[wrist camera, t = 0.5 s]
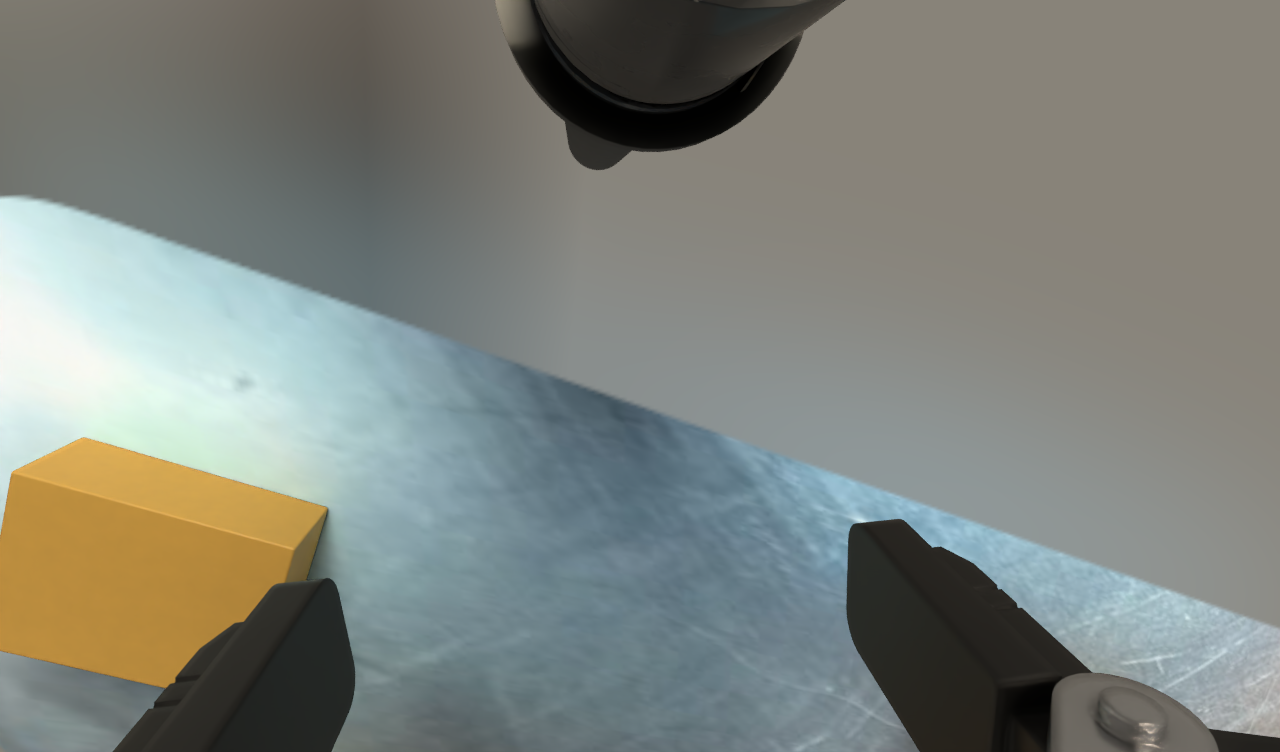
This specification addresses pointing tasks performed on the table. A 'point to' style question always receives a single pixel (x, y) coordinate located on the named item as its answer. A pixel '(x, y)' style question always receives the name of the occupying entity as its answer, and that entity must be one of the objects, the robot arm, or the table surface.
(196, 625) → the yellow block
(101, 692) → the table surface
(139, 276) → the table surface
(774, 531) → the table surface
